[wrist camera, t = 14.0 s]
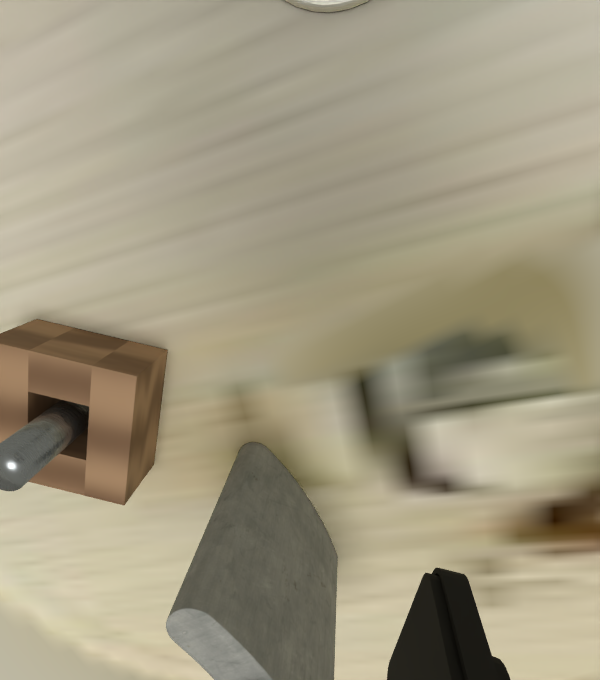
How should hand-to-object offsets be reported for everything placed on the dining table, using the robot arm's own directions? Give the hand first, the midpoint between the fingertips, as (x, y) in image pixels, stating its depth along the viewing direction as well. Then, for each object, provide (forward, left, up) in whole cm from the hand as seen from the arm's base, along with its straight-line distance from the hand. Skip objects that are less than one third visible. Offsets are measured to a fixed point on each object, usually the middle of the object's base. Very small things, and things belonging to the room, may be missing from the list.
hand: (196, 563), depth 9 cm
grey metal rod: (+14, -17, -28) cm, 36 cm away
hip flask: (+21, +3, -29) cm, 36 cm away
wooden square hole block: (+14, -17, -28) cm, 36 cm away
